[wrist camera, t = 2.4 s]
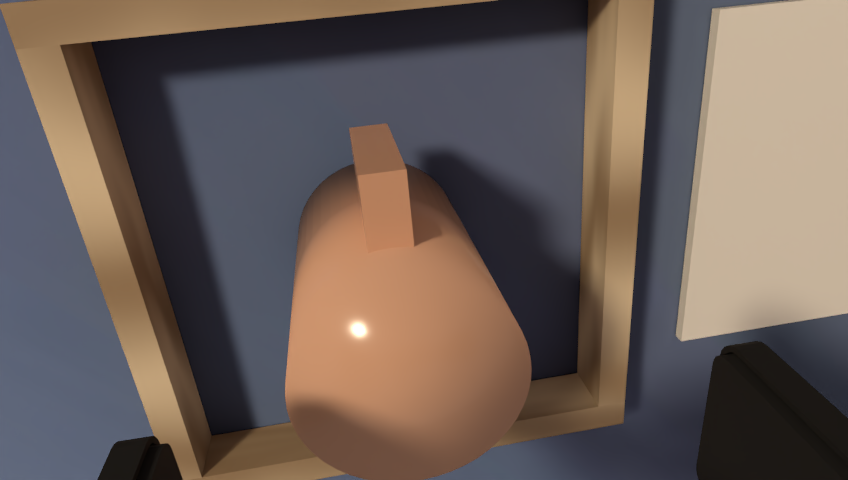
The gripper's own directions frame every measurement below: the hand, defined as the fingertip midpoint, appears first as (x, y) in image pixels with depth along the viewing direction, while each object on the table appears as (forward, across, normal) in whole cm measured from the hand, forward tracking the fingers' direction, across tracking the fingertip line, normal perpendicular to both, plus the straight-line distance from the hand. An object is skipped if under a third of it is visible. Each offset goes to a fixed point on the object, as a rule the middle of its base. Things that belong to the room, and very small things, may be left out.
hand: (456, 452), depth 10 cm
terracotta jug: (+10, +1, +1) cm, 10 cm away
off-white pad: (+11, -16, +1) cm, 20 cm away
